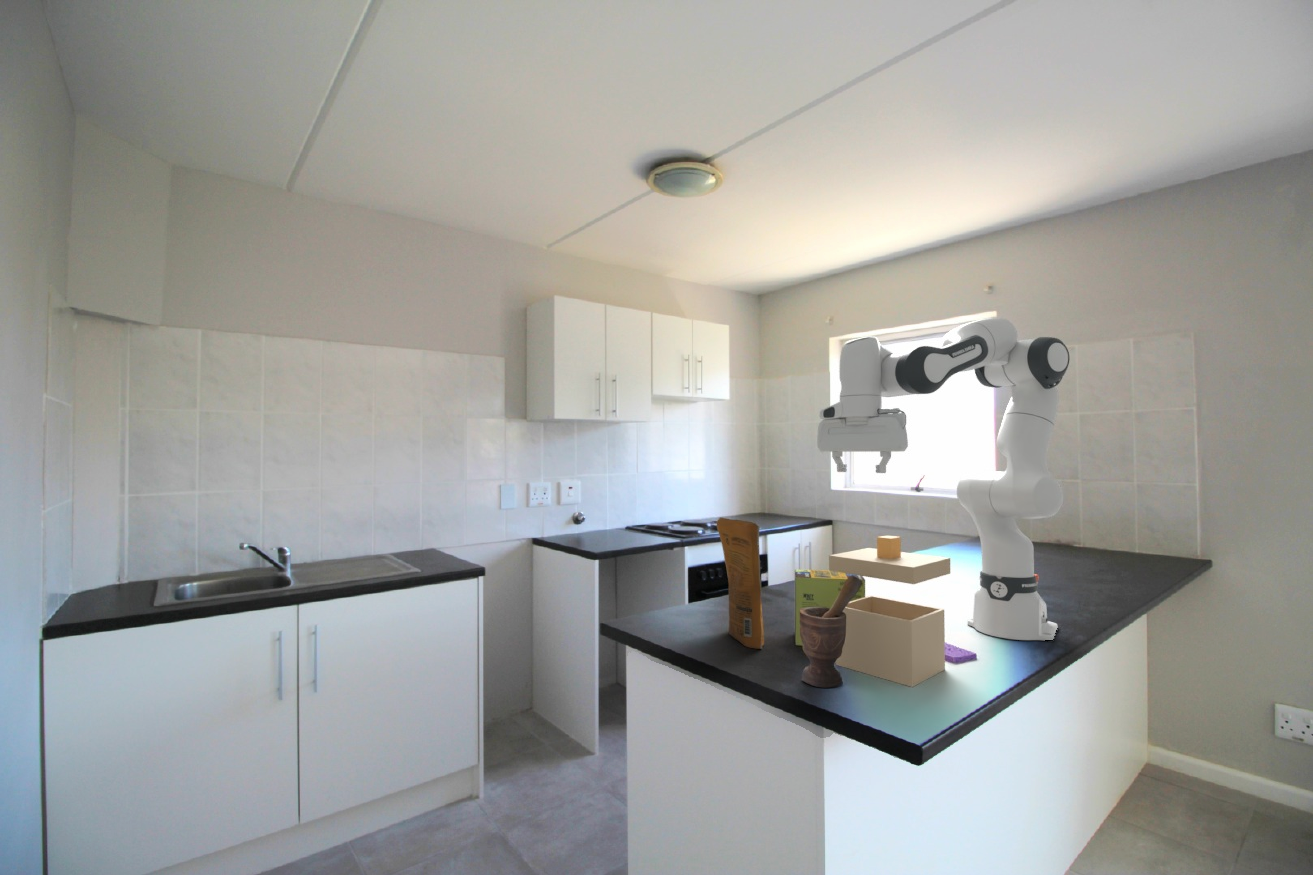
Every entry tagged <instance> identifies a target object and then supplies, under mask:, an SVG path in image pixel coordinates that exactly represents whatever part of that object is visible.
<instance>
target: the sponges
mask: <svg viewBox="0 0 1313 875" xmlns="http://www.w3.org/2000/svg"><path fill="white" fill-rule="evenodd" d="M973 659H974V660H977V659H978V658H977V653H975V652H974V651H971V650H968V649H965V648H961V647H959V646H958V647H957V645H954V644H951V643H948V642H946V641H945V662H946V661H947V662H949V663H954V664H957V663H958V664H959V663H963V662H966V661H972V660H973ZM974 660H973V661H974Z"/></svg>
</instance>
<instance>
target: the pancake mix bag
mask: <svg viewBox="0 0 1313 875" xmlns="http://www.w3.org/2000/svg"><path fill="white" fill-rule="evenodd" d="M760 528H761V526H759V524H756V522H752V521H748V520H742V519H732V518H731V519H730V518H727V517H725V518H724V517H719V518H718V520H716V529H717V532H718V535H719V538H720V542H721V547H722V552H723V557H724V558H723V559H724V564H725V567H726V574H727V579H728V580H727V582H728V635H729V636H731V638H733V639H734V640H736V641H738V642H739V643H741V645H743V646H744V647H745V648H751V649H757V650H758V649H761V650H763V646H764V645H765V638H764V636H765V635H764V620H763V617H764V616H763V607H762V606H763V605H762V580H761V579H762V577H761V560H760V556H761V555H760Z"/></svg>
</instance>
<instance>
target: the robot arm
mask: <svg viewBox="0 0 1313 875" xmlns="http://www.w3.org/2000/svg"><path fill="white" fill-rule="evenodd" d="M1070 360H1071V359H1070V352H1069V349H1068V347H1067V346H1066V344H1065V343H1064V342H1063V341H1062V340H1061V339H1059V338H1057V337H1053V336H1051V337H1050V336H1042V337H1041V336H1040V337H1037V338H1030V339H1029V338H1028V339H1020V340H1018V331H1017V328H1016V327H1015V325H1014V324H1013V323H1012V322H1011V321H1010V320H1008V319H1006V318H1003V317H991V318H984V319H978V320H975V321H971V322H967V323H965V324H962V325H960V326H958V327H956V328H953V329H952V330H950V331H949V332H947V333H946V334H945V335H944V336H943V337H942V339H941V343H940V348H939V347H934V346H929V345H924V346H923V345H922V346H917V347H915V348H912V349H909V350H904V351H900V352H893V351H890V350H888V349H887V348H886V347H884V346H883V345H882V344H881V343H880V342H879V339H878V337H876V336H864V337H860V338H855V339H854V338H853V339H851V340H848V341H846V342H845V343H844V344H843V346H842V347H841V351H840V357H839V381H840V385H841V386H840V387H841V388H840V392H839V401H837V402H836V403H833V404H831V405H830V406H827V407H825V408H822V409H821V410H820V411H819V418H820V419H821V421H820V422H819V424H818V428H817V441H816V443H817V444H816V445H817V448H818V450H819V451H820V452H822V453H823V452H825V453H826V452H827V453H831V457H832V459H833V461H834V463H835V464H836V471H837V473H847V472H848V469H847V467H848V465H847V464H846V463H844V462H843V459H842V458H841V457H843V456H844V455H843V454H844V452H845V453H846V452H850V453H851V452H854V453H855V452H860V453H861V452H863V453H866V452H870V453H871V452H872V453H873V452H874V453H875V452H879V457H881V460H880V463H879V464H876V465H875V473H876V474H886V472H887V465H888V463H889V462H890V459H891V458H892V452H896V453H897V452H905V451H906V450H907V449H908V447H909V444H908V443H909V442H908V441H909V440H908V433H907V427H906V426H907V414H906V413H905V412H904V410H902V409H900V408H898V407H893V408H882V397H883V398H893V397H902V396H910V395H911V396H912V395H929V394H933V393H935V392H937V391H938V390H939V389H940V388H941V387H942V386H943V385H944V384H945V382H946V381H948V380H949V379H950V378H951V377H952V376H953V375H955V374H957V373H960V372H968V371H973V373H974V375H975V377H976V379H977V380H978V381H979V383H980V384H981V385H983V386H984V387H987V388H994V389H995V388H996V389H997V388H1001V387H1004V388H1005V387H1010V388H1011V397H1010V400H1009V401H1008V404H1007V406H1006V408H1005V409H1006V410H1005V412H1004V414H1003V418H1002V421H1001V425H1000V428H999V431H998V435H997V438H996V440H995V445H996V449H997V450H998V452H999V453H1000V454H1001V455H1002V456H1004V457H1005V458H1006V468H1005V470H1004V471H993V470H992V471H990V470H989V471H987V470H986V471H985V470H984V471H983V470H982V471H977V472H972V473H967V474H965V475H964V476H962V477H960V478H961V479H959V482H958V484H957V486H956V497H957V500H958V503H959V504H960V506H962V508H964V510H966V511H967V512H968V514H969V515H970V517H971V519H972V520H973V522H974V525H975V527H976V530H977V532H978V536H979V539H980V540H979V541H980V548H981V549H980V551H981V571H979V585H980V588H979V590H977V591H976V592H974V597H973V613H972V618H971V619H968V620H967V622H966V623H967V625H969V626H970V627H973V628H974V629H975V630H976V631H978V632H980V633H982V634H985V635H988V636H992V637H995V638H996V637H997V638H1002V639H1007V640H1015V641H1016V640H1017V641H1018V640H1019V641H1045V640H1053V639H1055V637H1054V636H1056V634H1055V633H1057V632H1056V630H1057V631H1058V629H1057V628H1059V626H1058V623H1056V622H1052V621H1050V620H1048V613H1047V612H1048V610H1047V608H1048V607H1047V603H1046V602H1045V601H1044V599H1043V598H1042V597H1041V596H1040V594H1039V593H1038V590H1039V588H1038V583H1039V579H1040V577H1039V574H1035V557H1034V556H1035V553H1034V550H1035V549H1034V548H1035V547H1034V544H1033V542H1032V540H1031V539H1030V538H1029V537H1028V536H1026V534H1024V533H1023V532H1022V531H1021V530H1020V528H1019V527H1018V525H1017V522H1016V520H1015V518H1016V519H1026V520H1037V519H1044V518H1045V519H1046V518H1051V517H1053V516H1055V515H1056V514H1057V513H1058V512H1059V511H1060V509H1061V508H1062V505H1063V503H1064V490H1063V488H1062V486H1061V485H1060V483H1059V482H1058V480H1057V479H1055V477H1053V475H1052V473H1051V471H1050V469H1049V466H1048V450H1049V446H1050V443H1051V438H1052V435H1053V431H1054V427H1055V424H1056V419H1057V416H1058V414H1057V413H1058V408H1059V392H1058V389H1057V387H1056V386H1058V385H1059V384H1060V383H1061V381H1062V380H1063V377H1064V376H1065V374H1066V373H1067V371H1068V367H1069V364H1070ZM1053 641H1054V640H1053Z"/></svg>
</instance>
